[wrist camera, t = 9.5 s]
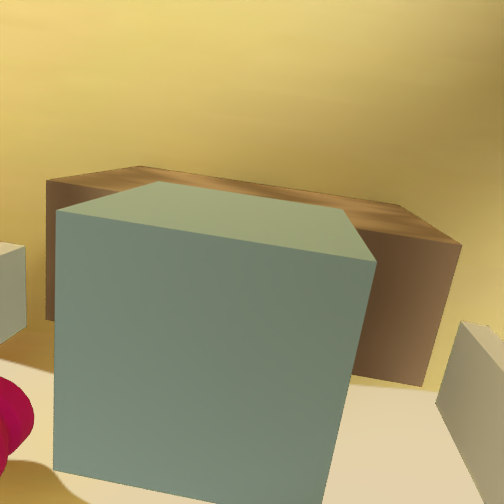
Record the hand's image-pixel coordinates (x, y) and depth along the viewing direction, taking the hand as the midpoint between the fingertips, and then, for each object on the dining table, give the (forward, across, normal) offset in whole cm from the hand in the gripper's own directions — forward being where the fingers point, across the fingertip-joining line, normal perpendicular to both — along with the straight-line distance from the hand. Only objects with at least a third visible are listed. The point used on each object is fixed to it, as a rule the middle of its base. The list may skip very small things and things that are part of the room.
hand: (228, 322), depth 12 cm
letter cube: (+4, 0, 0) cm, 4 cm away
